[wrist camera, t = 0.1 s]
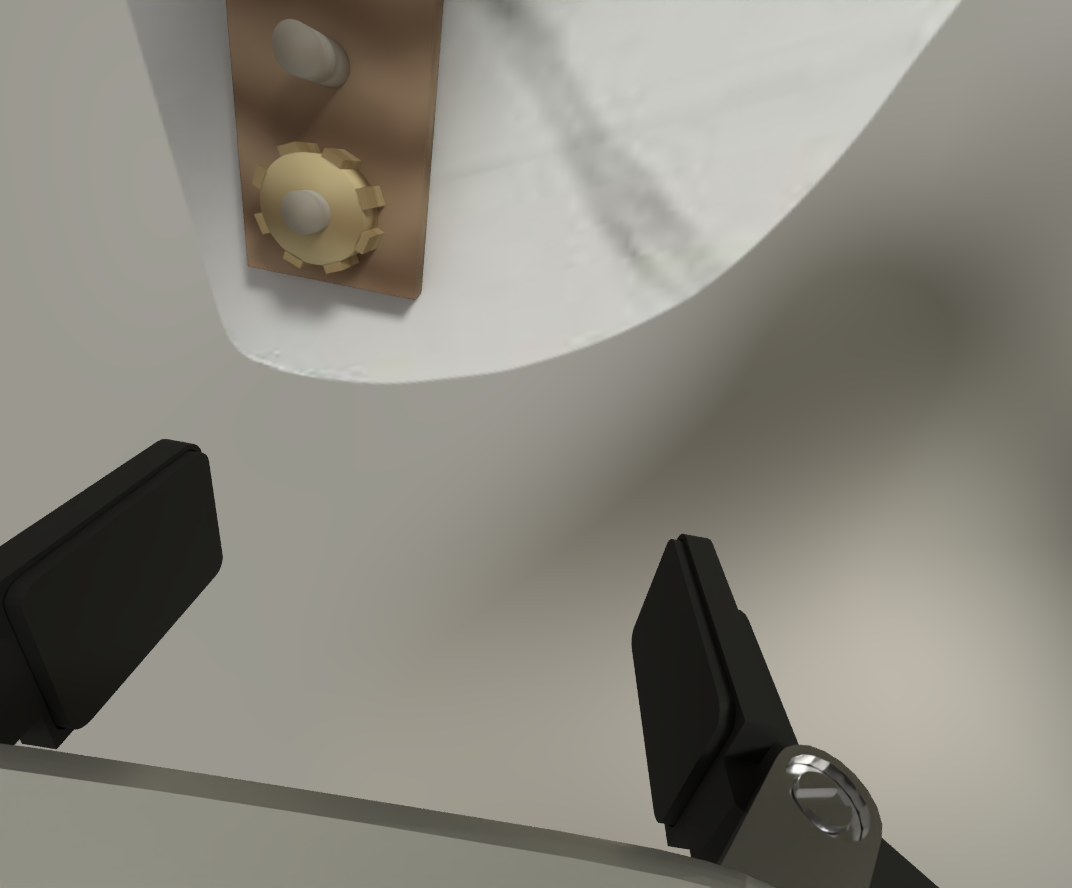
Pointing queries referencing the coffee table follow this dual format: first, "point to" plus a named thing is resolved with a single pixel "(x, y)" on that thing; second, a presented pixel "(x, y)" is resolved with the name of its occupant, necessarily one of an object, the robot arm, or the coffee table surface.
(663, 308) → the coffee table surface
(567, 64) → the coffee table surface
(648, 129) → the coffee table surface
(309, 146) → the gear board
